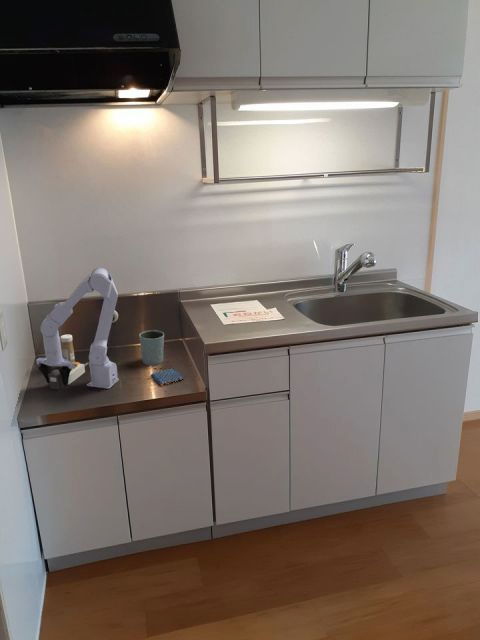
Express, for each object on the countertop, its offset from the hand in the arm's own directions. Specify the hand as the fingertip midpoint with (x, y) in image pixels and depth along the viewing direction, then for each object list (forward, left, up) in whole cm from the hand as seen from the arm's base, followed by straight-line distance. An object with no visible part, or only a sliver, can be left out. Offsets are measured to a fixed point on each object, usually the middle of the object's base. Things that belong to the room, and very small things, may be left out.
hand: (57, 383), depth 193 cm
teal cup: (-25, -31, -2) cm, 40 cm away
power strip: (0, -12, -2) cm, 12 cm away
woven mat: (-37, -17, -2) cm, 41 cm away
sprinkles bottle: (+6, -17, -2) cm, 18 cm away
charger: (0, 0, -2) cm, 2 cm away
